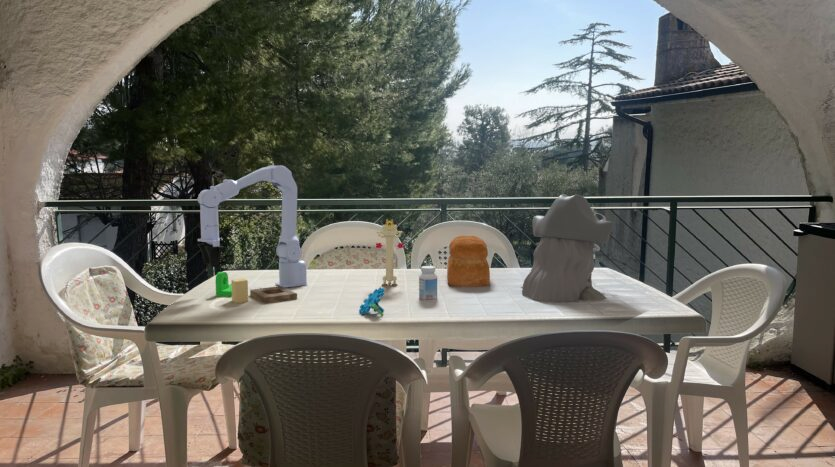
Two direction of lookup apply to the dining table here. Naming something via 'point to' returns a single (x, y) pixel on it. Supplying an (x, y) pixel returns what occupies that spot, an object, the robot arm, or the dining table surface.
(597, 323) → the dining table surface
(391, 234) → the cat figure
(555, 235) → the bust
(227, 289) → the mechanical part
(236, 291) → the sand colored cuboid
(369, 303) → the blue flower
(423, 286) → the pill bottle
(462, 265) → the bread
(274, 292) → the brown square frame
